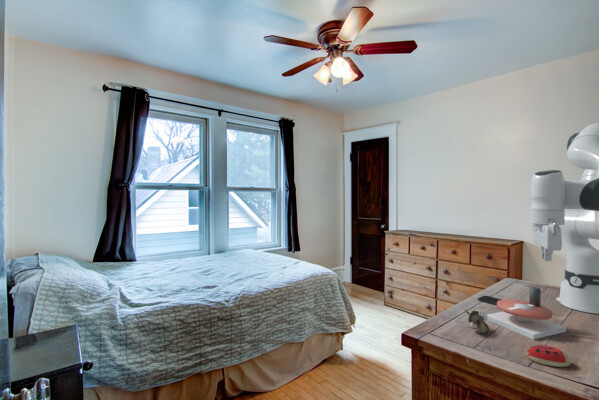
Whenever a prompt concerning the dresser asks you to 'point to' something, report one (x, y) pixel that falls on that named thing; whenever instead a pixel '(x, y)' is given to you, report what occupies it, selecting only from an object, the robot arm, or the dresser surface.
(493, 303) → the phone
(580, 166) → the robot arm
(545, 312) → the handwheel
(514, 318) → the square base plate
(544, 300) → the dresser surface
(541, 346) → the ladybug figurine
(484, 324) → the eagle figurine
